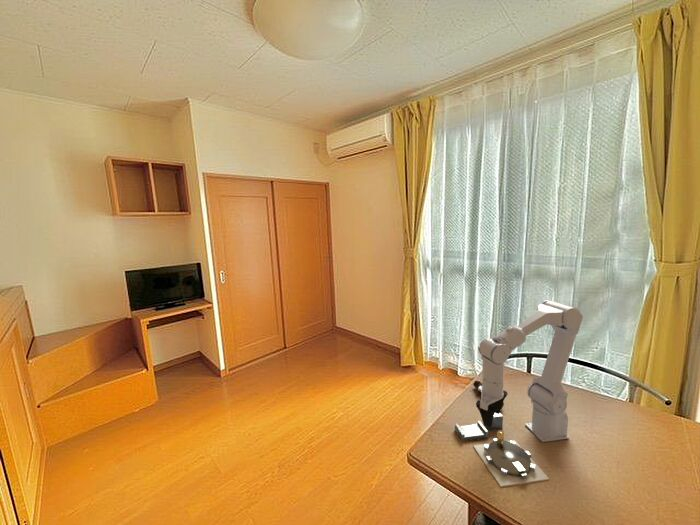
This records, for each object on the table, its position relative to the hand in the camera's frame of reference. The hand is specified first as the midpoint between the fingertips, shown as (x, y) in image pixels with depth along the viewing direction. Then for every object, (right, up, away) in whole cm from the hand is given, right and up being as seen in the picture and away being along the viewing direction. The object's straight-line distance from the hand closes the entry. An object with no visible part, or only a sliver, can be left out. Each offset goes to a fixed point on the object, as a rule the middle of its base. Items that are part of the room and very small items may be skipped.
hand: (491, 418), depth 89 cm
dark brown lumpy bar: (+10, -6, +25) cm, 27 cm away
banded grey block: (+5, -8, +9) cm, 13 cm away
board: (+3, -10, -5) cm, 12 cm away
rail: (-4, -9, +7) cm, 12 cm away
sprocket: (+3, -10, -5) cm, 12 cm away
